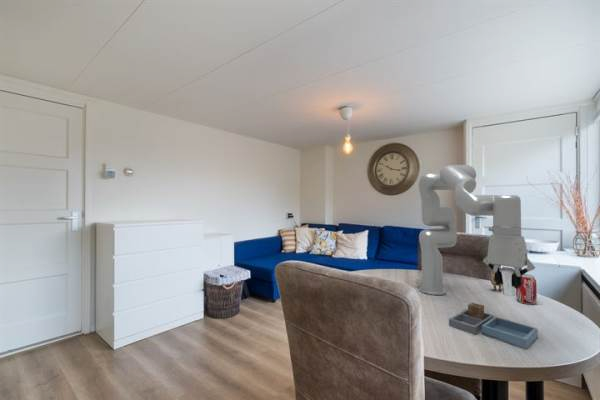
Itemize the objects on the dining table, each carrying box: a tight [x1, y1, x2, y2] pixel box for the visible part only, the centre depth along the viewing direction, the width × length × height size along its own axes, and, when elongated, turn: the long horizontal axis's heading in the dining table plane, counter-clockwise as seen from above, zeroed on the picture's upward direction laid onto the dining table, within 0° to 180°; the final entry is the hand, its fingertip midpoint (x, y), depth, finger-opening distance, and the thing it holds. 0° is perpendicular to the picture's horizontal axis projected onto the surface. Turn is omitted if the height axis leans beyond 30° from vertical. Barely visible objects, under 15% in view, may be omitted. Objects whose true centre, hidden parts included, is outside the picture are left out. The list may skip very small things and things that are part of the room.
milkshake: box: [499, 266, 516, 297], centre depth 91 cm, size 4×5×10 cm
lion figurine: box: [489, 273, 502, 293], centre depth 136 cm, size 15×5×9 cm, turn 108°
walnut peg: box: [467, 302, 485, 320], centre depth 102 cm, size 4×4×6 cm
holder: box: [448, 308, 495, 335], centre depth 100 cm, size 9×16×2 cm, turn 126°
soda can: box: [515, 273, 538, 306], centre depth 120 cm, size 7×7×12 cm
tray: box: [481, 316, 539, 350], centre depth 90 cm, size 12×12×3 cm
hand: (507, 285), depth 91 cm, fingers closed on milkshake, 4 cm apart
